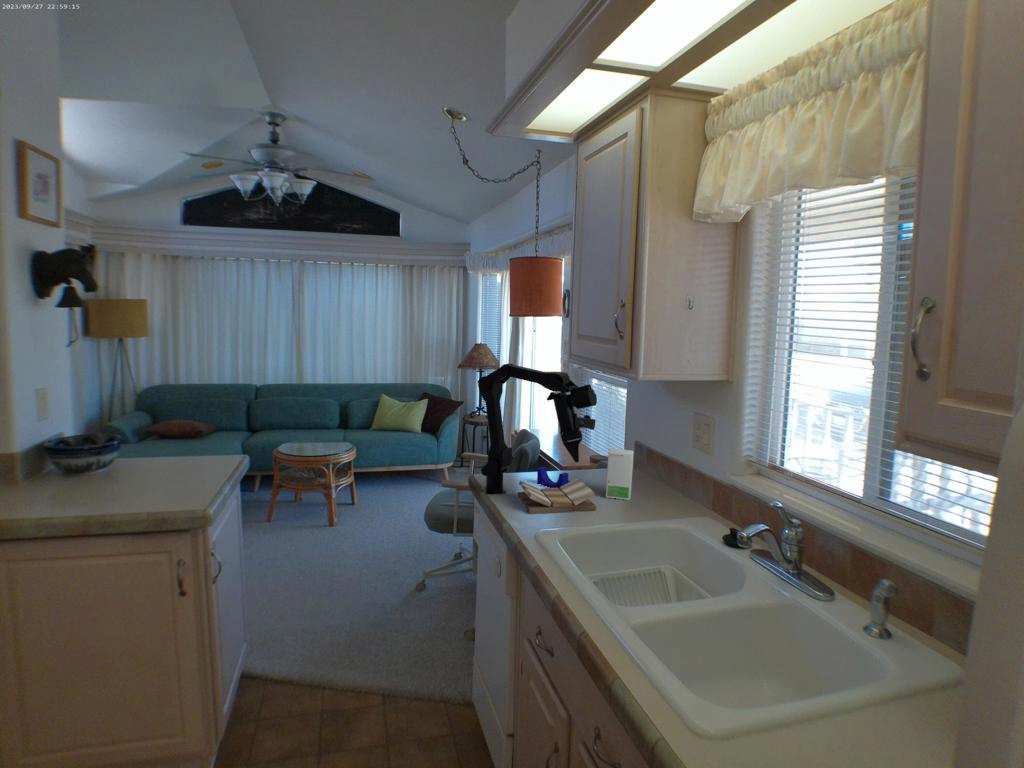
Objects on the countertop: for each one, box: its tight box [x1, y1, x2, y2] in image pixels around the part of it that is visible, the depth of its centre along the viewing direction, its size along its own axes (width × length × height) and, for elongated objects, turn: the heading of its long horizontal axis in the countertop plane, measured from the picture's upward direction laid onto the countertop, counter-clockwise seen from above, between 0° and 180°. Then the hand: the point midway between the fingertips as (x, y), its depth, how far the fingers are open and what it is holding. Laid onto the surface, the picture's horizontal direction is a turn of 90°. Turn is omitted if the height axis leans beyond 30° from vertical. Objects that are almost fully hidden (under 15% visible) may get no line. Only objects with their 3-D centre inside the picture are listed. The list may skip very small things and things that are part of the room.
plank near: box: [518, 480, 551, 507], centre depth 191 cm, size 16×7×1 cm, turn 11°
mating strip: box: [539, 487, 572, 507], centre depth 193 cm, size 16×6×1 cm, turn 11°
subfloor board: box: [516, 491, 597, 515], centre depth 193 cm, size 18×21×2 cm
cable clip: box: [536, 466, 572, 489], centre depth 212 cm, size 12×4×6 cm, turn 43°
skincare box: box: [605, 447, 634, 501], centre depth 200 cm, size 8×7×16 cm
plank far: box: [559, 478, 595, 505], centre depth 194 cm, size 16×7×1 cm, turn 11°
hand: (576, 460), depth 189 cm, fingers open, 9 cm apart
